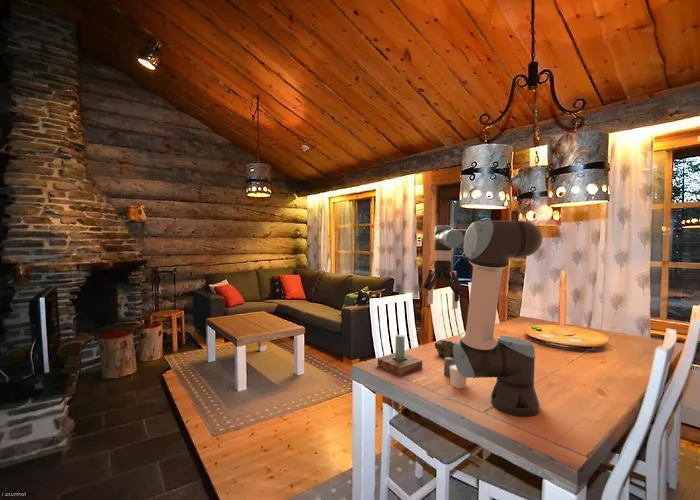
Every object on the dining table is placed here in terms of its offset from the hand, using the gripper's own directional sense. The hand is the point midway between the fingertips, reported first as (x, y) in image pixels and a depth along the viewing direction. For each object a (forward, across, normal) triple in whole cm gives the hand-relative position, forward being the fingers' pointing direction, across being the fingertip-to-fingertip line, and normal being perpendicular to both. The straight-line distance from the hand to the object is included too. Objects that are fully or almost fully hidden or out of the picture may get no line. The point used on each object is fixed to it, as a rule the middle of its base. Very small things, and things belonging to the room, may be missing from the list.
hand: (442, 306), depth 158 cm
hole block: (+27, +9, +18) cm, 33 cm away
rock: (+27, +4, -10) cm, 29 cm away
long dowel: (+27, +9, +18) cm, 33 cm away
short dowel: (+27, -10, +8) cm, 30 cm away
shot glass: (+27, -18, +13) cm, 35 cm away
